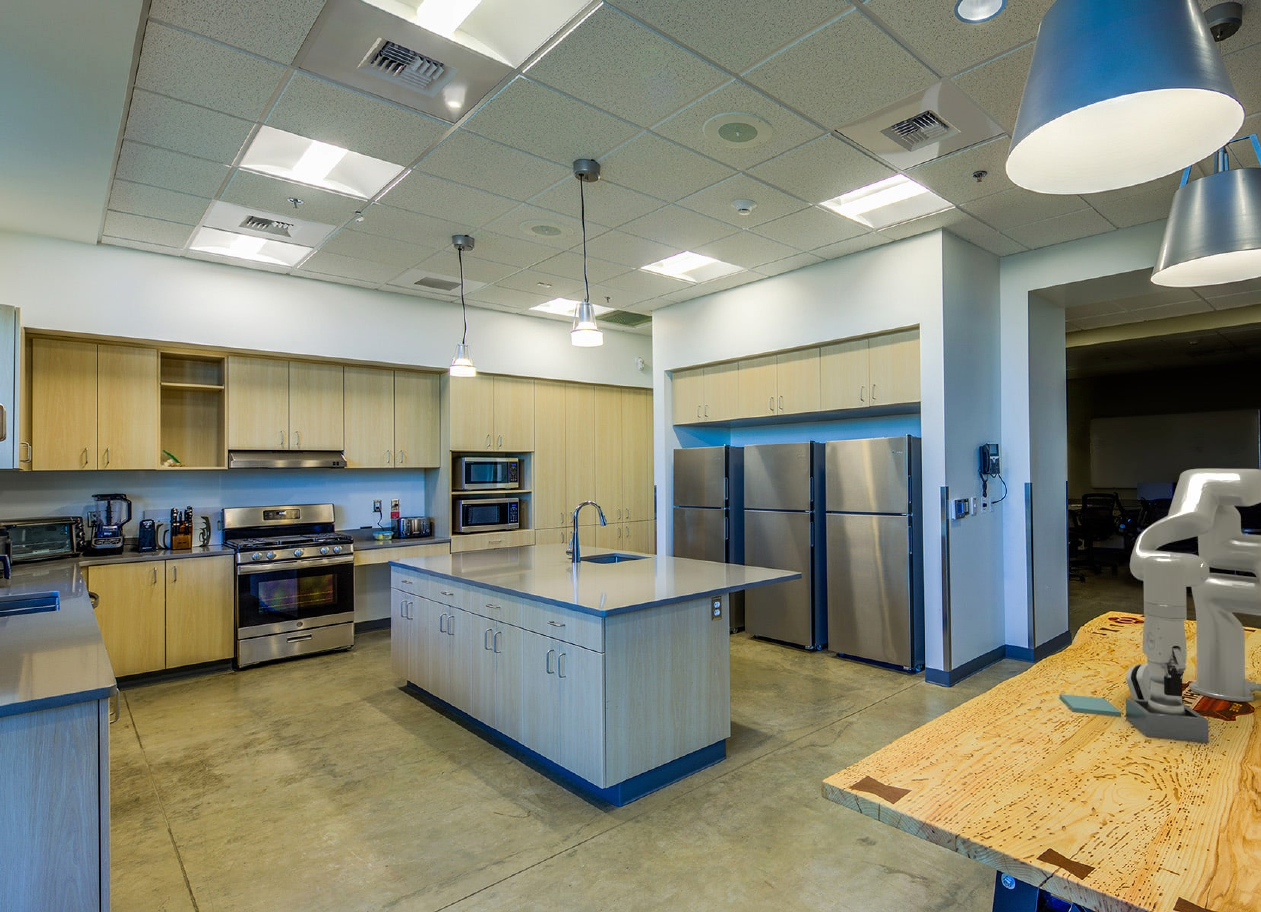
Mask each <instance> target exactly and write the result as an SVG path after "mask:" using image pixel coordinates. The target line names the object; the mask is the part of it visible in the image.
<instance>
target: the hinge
mask: <svg viewBox="0 0 1261 912" xmlns="http://www.w3.org/2000/svg"><path fill="white" fill-rule="evenodd" d="M1125 681H1126V684H1127V686H1128V690H1129V692H1130V696H1131V699H1139V700H1149V699H1150V687H1151V684H1150V672H1149V667H1148V663H1140V664H1139V663H1138V664H1136V665H1133V666H1130V667H1129V668H1128V670H1127V671H1126V675H1125Z"/></svg>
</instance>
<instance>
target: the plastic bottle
mask: <svg viewBox="0 0 1261 912" xmlns="http://www.w3.org/2000/svg"><path fill="white" fill-rule="evenodd" d="M1146 660H1147V664H1148V667H1149V672H1150V679H1151V680H1150V683H1151V687H1150V699H1149V701H1148V708H1147V709H1148V712H1150V713H1158V714H1168V715H1178V716H1186V715H1185V710H1184V706H1183V704H1184V703H1183V695H1182V696H1168V695H1165V694H1164V677H1166V673H1165V667H1164V664H1160V663H1158V662H1156V661H1155V660H1154V656H1153V654H1152V652H1151V651H1148V653H1147V655H1146ZM1168 663H1175V661H1174V660H1169V662H1168ZM1169 667H1170V671H1171V670H1172V668H1175V667H1173V666H1169Z"/></svg>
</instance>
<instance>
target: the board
mask: <svg viewBox="0 0 1261 912" xmlns="http://www.w3.org/2000/svg"><path fill="white" fill-rule="evenodd" d="M1058 695H1059V699H1060V700H1061V701H1062V702H1063V703H1064V704H1065V705H1066V706H1067V708H1069V709H1070V710H1071V711H1072V712H1074V713H1080V714H1081V713H1082V714H1091V715H1092V714H1093V715H1100V716H1102V715H1103V716H1111V717H1120V718H1121V717H1122V712H1121V711H1120V710H1119V708H1117V707H1115V705H1113V704H1112V703H1111V702H1110V701H1108V700H1107V699H1106V698H1103V697H1097V696H1096V697H1094V696H1093V697H1091V696H1084V695H1083V696H1082V695H1073V694H1064V693H1063V694H1062V693H1061V694H1060V693H1059V694H1058Z"/></svg>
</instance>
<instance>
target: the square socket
mask: <svg viewBox="0 0 1261 912" xmlns="http://www.w3.org/2000/svg"><path fill="white" fill-rule="evenodd" d="M1148 701H1149V700H1139V699H1133V698H1128V697H1127V698H1126V697H1125V720H1126V721H1127V722H1128V723H1129V724H1130V725H1131V726H1133V727H1134V728H1135V729H1137V730H1138V732H1140V733H1141V734H1142V735H1143V736H1145V737H1146V738H1154V739H1162V740H1163V739H1164V740H1174V741H1181V742H1191V743H1199V744H1200V743H1202V744H1209V719H1207V718H1206V717H1204V716H1203V715H1201V714H1200V713H1198V712H1197V711H1195V710H1194V709H1192V708H1191V707H1190V706H1188V705H1186V704H1185V703H1183V706H1184V710H1185V715H1186V716H1178V715H1168V714H1158V713H1150V712H1148V709H1147V708H1148Z"/></svg>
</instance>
